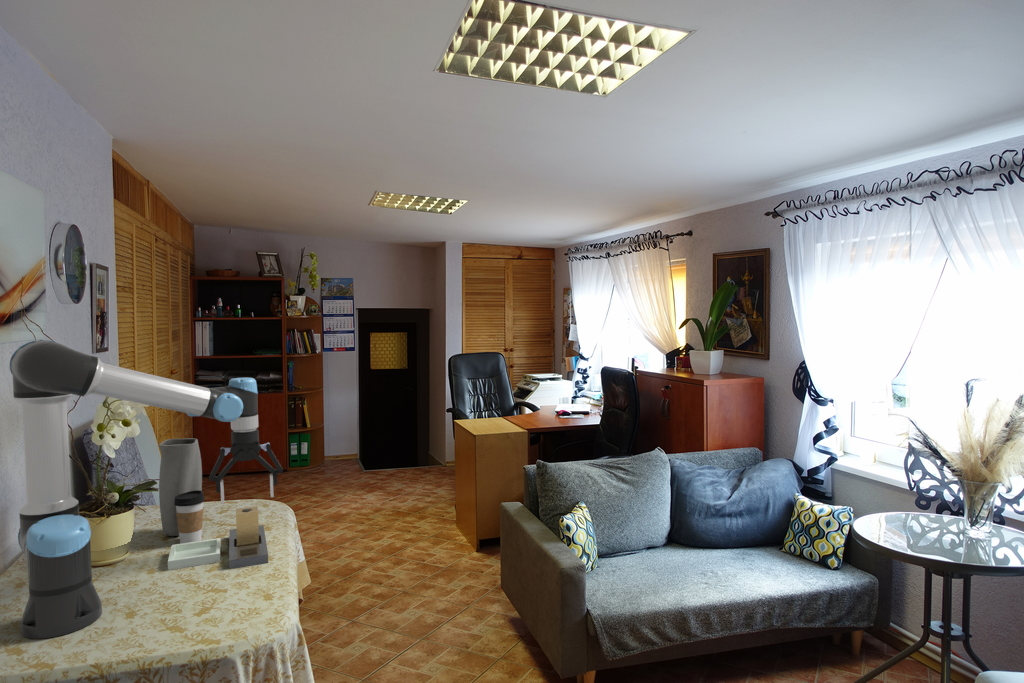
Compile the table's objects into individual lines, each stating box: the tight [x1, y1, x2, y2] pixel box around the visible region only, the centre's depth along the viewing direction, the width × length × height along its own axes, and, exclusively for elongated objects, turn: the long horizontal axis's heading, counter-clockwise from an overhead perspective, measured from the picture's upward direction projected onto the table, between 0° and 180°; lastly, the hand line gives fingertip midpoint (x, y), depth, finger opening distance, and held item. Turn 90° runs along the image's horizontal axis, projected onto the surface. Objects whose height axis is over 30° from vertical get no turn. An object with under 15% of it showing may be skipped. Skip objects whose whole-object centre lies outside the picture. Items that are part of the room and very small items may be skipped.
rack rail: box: [228, 524, 269, 570], centre depth 182 cm, size 26×10×3 cm, turn 25°
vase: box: [158, 437, 203, 537], centre depth 195 cm, size 12×12×30 cm
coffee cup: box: [174, 490, 205, 544], centre depth 188 cm, size 8×8×15 cm
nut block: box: [235, 505, 260, 547], centre depth 182 cm, size 6×6×12 cm
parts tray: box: [167, 537, 222, 571], centre depth 176 cm, size 13×13×2 cm
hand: (247, 499), depth 181 cm, fingers open, 13 cm apart
